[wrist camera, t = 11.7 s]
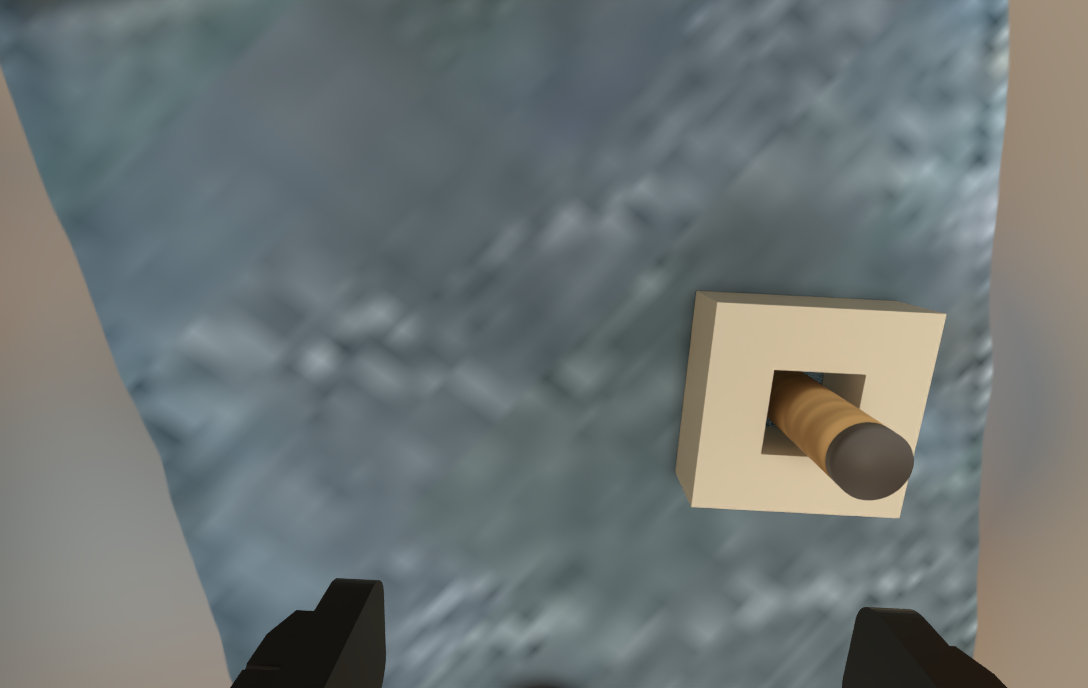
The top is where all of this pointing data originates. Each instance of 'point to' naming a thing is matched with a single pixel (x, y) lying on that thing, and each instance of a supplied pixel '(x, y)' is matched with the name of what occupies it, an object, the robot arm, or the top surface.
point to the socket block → (795, 345)
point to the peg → (839, 437)
